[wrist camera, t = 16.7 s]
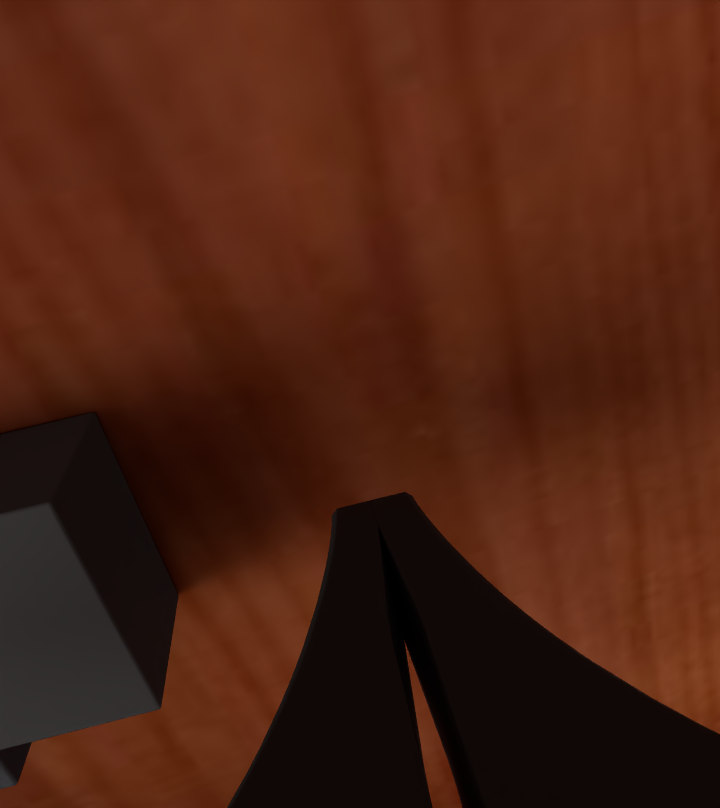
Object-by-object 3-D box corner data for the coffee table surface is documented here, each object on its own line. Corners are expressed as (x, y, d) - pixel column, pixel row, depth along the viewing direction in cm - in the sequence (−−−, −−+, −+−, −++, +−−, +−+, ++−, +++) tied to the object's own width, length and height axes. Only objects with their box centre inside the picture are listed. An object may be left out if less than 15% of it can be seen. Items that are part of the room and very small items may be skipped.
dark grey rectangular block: (95, 410, 12) (50, 502, 10) (179, 595, 15) (161, 710, 12) (-111, 459, 12) (-216, 566, 9) (7, 638, 14) (-49, 763, 12)
